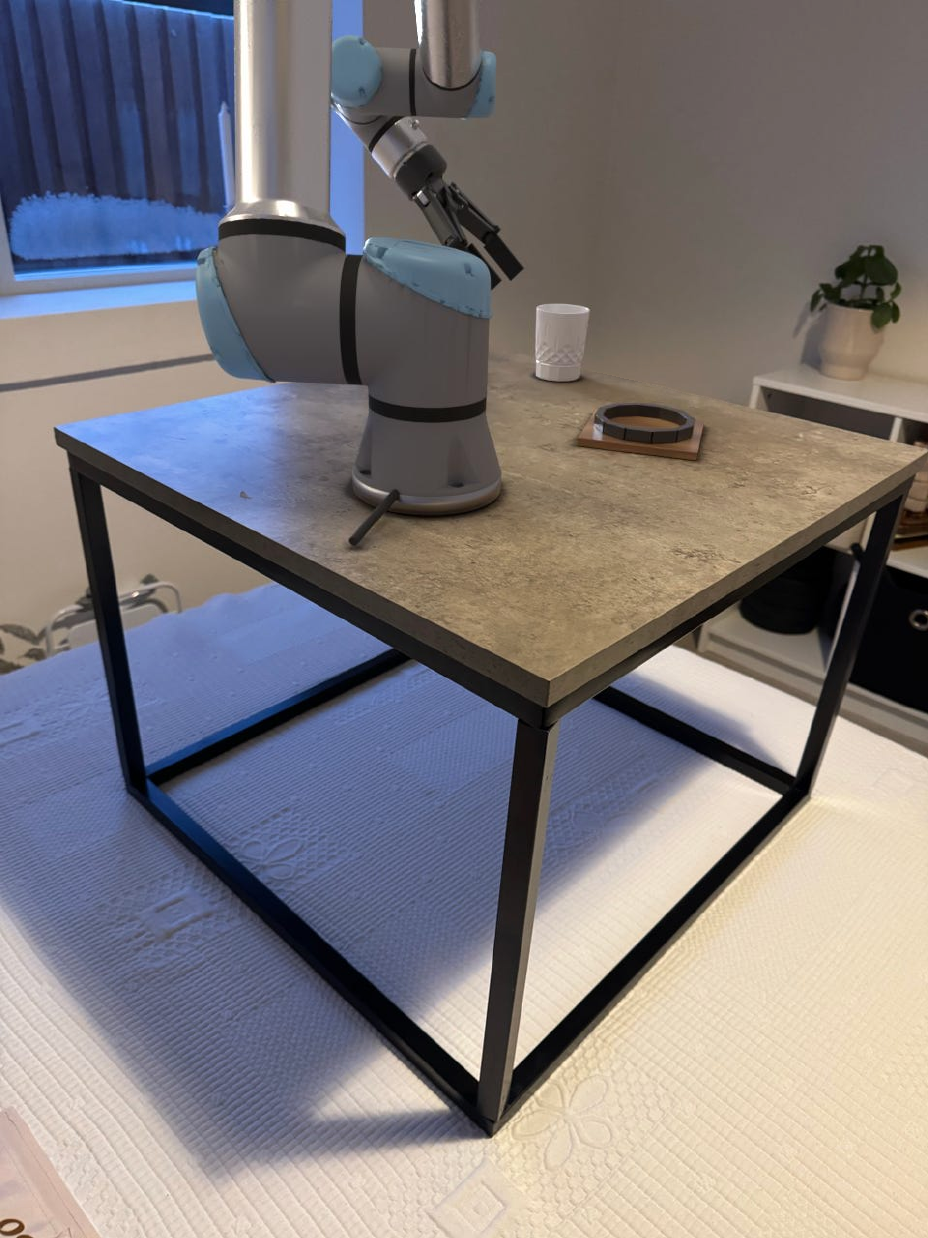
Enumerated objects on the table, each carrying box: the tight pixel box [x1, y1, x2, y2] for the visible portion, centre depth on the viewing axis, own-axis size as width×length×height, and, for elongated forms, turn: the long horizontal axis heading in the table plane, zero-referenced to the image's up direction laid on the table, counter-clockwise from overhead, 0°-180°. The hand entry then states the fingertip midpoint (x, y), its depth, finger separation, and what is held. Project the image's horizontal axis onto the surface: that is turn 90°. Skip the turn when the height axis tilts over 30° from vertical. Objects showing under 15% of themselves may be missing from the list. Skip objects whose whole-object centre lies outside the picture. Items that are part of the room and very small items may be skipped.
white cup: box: [534, 303, 591, 383], centre depth 129 cm, size 8×8×10 cm
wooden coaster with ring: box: [576, 402, 705, 461], centre depth 106 cm, size 14×14×2 cm
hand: (506, 280), depth 127 cm, fingers open, 13 cm apart
